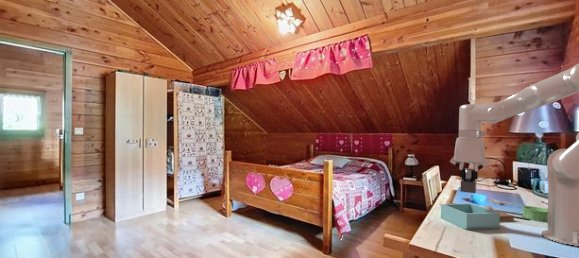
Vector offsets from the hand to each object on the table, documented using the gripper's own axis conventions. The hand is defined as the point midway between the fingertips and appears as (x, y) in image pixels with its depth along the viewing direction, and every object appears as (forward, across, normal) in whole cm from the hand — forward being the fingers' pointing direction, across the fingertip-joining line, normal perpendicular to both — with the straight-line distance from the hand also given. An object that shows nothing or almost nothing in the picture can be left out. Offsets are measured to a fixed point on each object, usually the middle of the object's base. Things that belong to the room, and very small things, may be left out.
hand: (468, 179), depth 110 cm
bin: (+18, 0, 0) cm, 18 cm away
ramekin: (+18, -23, -27) cm, 40 cm away
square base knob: (+5, 0, 0) cm, 5 cm away
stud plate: (+18, -7, -16) cm, 25 cm away
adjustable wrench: (+18, -18, -47) cm, 53 cm away
